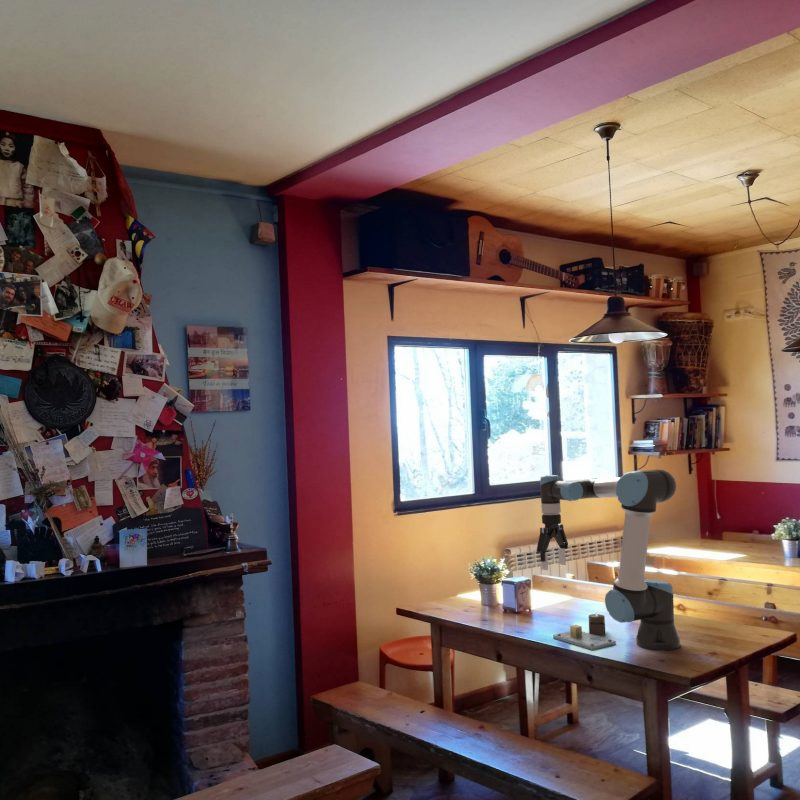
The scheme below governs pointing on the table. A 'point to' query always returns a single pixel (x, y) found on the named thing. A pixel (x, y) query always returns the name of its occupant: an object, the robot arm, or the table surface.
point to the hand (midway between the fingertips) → (553, 567)
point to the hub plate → (583, 638)
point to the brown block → (597, 624)
